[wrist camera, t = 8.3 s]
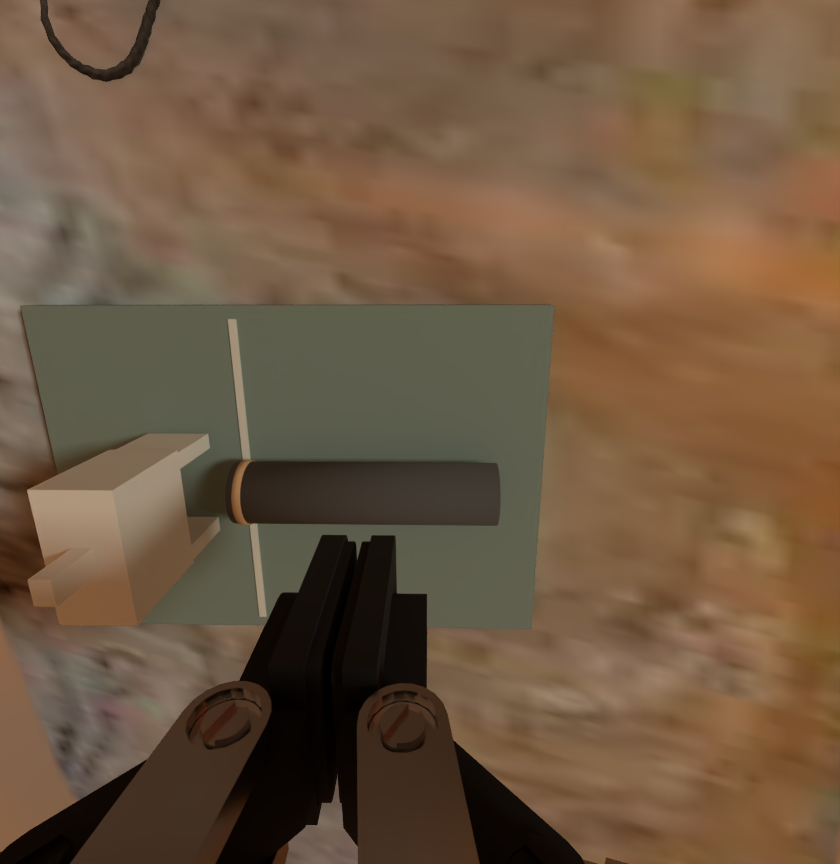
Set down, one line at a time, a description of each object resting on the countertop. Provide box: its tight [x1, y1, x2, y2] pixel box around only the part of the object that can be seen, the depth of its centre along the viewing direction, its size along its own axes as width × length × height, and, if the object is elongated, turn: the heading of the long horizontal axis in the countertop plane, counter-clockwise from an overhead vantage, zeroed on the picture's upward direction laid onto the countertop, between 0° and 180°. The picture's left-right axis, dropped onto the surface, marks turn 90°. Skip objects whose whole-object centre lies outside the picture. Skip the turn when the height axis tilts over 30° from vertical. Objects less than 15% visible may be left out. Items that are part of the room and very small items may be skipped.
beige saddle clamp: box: [27, 433, 220, 626], centre depth 16 cm, size 4×2×8 cm, turn 0°
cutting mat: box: [21, 305, 554, 629], centre depth 20 cm, size 14×20×1 cm
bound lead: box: [225, 460, 501, 526], centre depth 19 cm, size 2×10×2 cm, turn 90°
